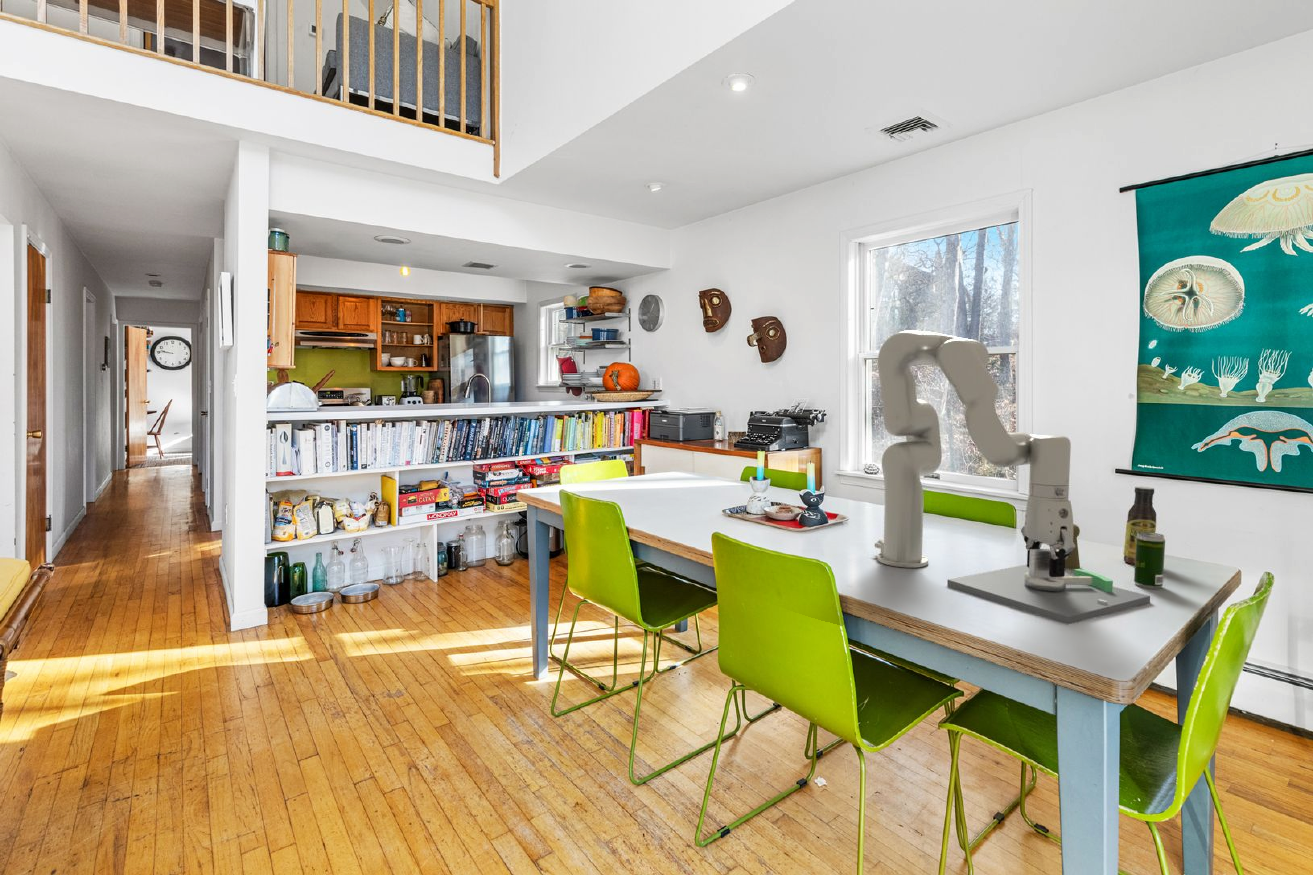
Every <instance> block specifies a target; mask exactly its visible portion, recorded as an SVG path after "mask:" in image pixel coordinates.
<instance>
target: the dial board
mask: <svg viewBox="0 0 1313 875" xmlns="http://www.w3.org/2000/svg"><path fill="white" fill-rule="evenodd" d="M1027 572H1029V568H1028V567H1027V564H1021V565H1017V566H1012V567H1011V566H1010V567H1007V568H1002V569H995V570H991V571H985V572H980V573H976V574H969V575H965V576H964V575H963V576H960V577H959V576H958V577H955V578H948V579H947V585H946V586H947V587H949V588H952V589H955V590H959V591H963V592H965V593H969V594H972V595H975V596H977V597H981V598H983V599H986V600H987V599H988V600H990V601H994V602H996V601H997V602H996V603H1000V604H1003V605H1006V606H1009V607H1013V608H1016V609H1018V610H1022V611H1025V612H1029V613H1032V614H1034V615H1038V616H1041V617H1045V618H1047V619H1050V620H1053V621H1056V622H1060V623H1062V624H1066V625H1071V624H1075V623H1079V622H1083V621H1086V620H1087V621H1088V620H1090V619H1094V618H1097V617H1102V616H1106V615H1110V614H1113V613H1116V612H1120V611H1124V610H1128V609H1133V608H1136V607H1140V606H1143V605H1147V604H1151V595H1148V594H1143V593H1140V592H1137V591H1132V590H1129V589H1124V588H1120V587H1116V586H1113V585H1114V583H1113V582H1114V581H1113V580H1111V579H1109V578H1108V577H1106V576H1105V575H1104V576H1103V575H1101V574H1098V573H1096V572H1093V571H1089V570H1086V569H1082V568H1079V569H1074V571H1073V572H1074V576H1090V577H1092V578H1093V581H1092V585H1066V589H1065V590H1063V591H1045V590H1039V589H1034V588H1031V587H1028V586H1026V585H1025V584H1024V574H1025V573H1027ZM1064 576H1070V575H1069V574H1065V575H1064Z"/></svg>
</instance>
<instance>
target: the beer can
mask: <svg viewBox="0 0 1313 875" xmlns="http://www.w3.org/2000/svg"><path fill="white" fill-rule="evenodd" d="M1165 548H1166V539H1165V535H1164V534H1162V533H1158V532H1155V533H1150V532H1139V533H1138V535H1137V537H1136V553H1135V564H1134V574H1133V576H1134V577H1133V582H1134V584H1135V585H1136V586H1137V587H1141V588H1146V589H1151V590H1159V589H1161V588H1162V587H1163V585H1164V571H1165V570H1164V568H1165V551H1166V550H1165Z"/></svg>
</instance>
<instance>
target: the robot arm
mask: <svg viewBox="0 0 1313 875" xmlns="http://www.w3.org/2000/svg"><path fill="white" fill-rule="evenodd" d="M989 353H990V352H989V350H988V349H987V347H986V346H985V344H984V343H982V342H980V341H978V340H976V339H968V338H963V337H957V336H953V335H947V334H943V333H937V332H932V331H921V330H920V331H919V330H903V331H900V332H899V331H898V332H896V333H894V334H893V335H891V336H890V337H888V338H887V339H886V340H885V341H884V343H883V344H882V346H881V347H880V350H879V352H878V356H877V368H878V377H879V382H880V390H881V391H880V392H881V404H882V417H883V424H884V425H883V426H884V428H885V430H886V431H887V433H888V434H889V435H892V436H894V437H905V439H906V440H905V441H899V442H896V443H893V444H891V445H890V446H888V447H887V448H886V449H885V450H884V452H883V454H882V458H881V468H882V475H883V484H884V510H883V512H884V513H883V514H884V516H883V517H884V519H883V520H884V521H883V539H879V540H877V542H875V543H874V547H875V548H876V549H880V553H878V554H877V555H876V559H877V561H878V562H880V563H881V564H883V565H887V566H891V567H897V568H905V569H906V568H909V569H912V568H921V567H922V568H923V567H926V566H928V565H929V559H928V558H927V557H926V556H925V555H923V537H924V534H923V531H924V530H923V528H924V526H923V525H924V489H923V486H922V485H923V484H922V481H921V478H920V477H925V476H929V475H932V474H934V473H935V472H937V470H939V468H940V467H941V466H940V465H941V463H942V457H943V456H942V454H943V453H942V452H943V451H942V442H941V432H940V421H939V420H940V419H939V416H938V413H937V411H936V409H935V407H934V406H933V404H931V403H929V402H927V401H926V400H923V399H918V397H917V389H916V388H917V386H916V385H917V384H916V380H915V377H914V375H913V373H912V371H911V366H912V365H917V366H918V365H919V366H920V365H921V366H922V365H923V366H932V367H937V368H940V370H941V372H942V373H943V375H944V376H945V378H946V379H947V382H948V383H949V384H950V386H951V388H952V390H953V391H954V392H955V394H956V397H958V399H959V400H960V403H961V404H962V406H963V412H964V413H963V414H964V420H965V425H966V428H967V431H968V434H969V437H971V440H972V441H973V443H974V445H975V446H976V448H977V449H978V451H979V452H980V454H981V456H982V457H983V458H984V459H985V461H987V463H989V464H991V466H994V467H998V468H1001V469H1002V468H1004V469H1005V468H1009V467H1010V468H1011V467H1016V466H1025V465H1029V482H1028V483H1029V484H1028V497H1027V502H1026V508H1025V513H1024V514H1025V515H1024V526H1023V527H1022V528H1021V529H1020V533H1021V535H1022V537H1023V541H1024V542H1025V548H1026V549H1025V550H1027V554H1026V558H1027V559H1026V565H1027V567H1028V568H1029V559H1030V549H1042V545H1043V544H1045V545H1047V546H1049V549H1050V550H1051V554H1052V558H1050V565H1049V576H1050V577H1064V575H1066V571H1065V570H1066V569H1065V559H1067V558H1068V555H1069V554H1070V553H1071V551H1072V550H1073V549H1074V548H1075V544H1074V542H1073V524H1074V513H1073V509H1072V508H1073V507H1072V504H1071V500H1069V494H1070V492H1069V491H1070V473H1071V472H1070V469H1071V448H1072V446H1071V444H1072V443H1071V440H1070V438H1069V437H1067V436H1063V435H1057V434H1056V435H1052V434H1040V435H1039V434H1032V433H1028V432H1008V431H1007V429H1006V428H1005V426H1004V425H1003V423H1002V422H1001V419H1000V418H999V415H998V413H997V410H996V399H997V396H998V395H999V391H1000V387H999V385H998V384H997V382H996V381H995V379H994V378H993V377H992V375H991V374H990V372H989V371H988V369H987V368H986V367H987V366H988V364H989V362H990V361H989V360H990V354H989ZM1057 543H1059V544H1057ZM1056 548H1060V550H1059V551H1058V552H1057V550H1056Z"/></svg>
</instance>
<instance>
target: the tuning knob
mask: <svg viewBox="0 0 1313 875" xmlns="http://www.w3.org/2000/svg"><path fill="white" fill-rule="evenodd" d="M1056 550H1057V552H1058V551H1059V550H1058V549H1056ZM1050 558H1052V554H1051V550H1050V548H1040V549H1030V559H1029V572H1027V573H1025V574H1024V584H1025V585H1026V586H1028V587H1031V588H1034V589H1039V590H1045V591H1063V590H1065V589H1066V585H1092V581H1093V578H1092V577H1090V576H1073V575H1069V576H1064V577H1050V576H1049V565H1050Z"/></svg>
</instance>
